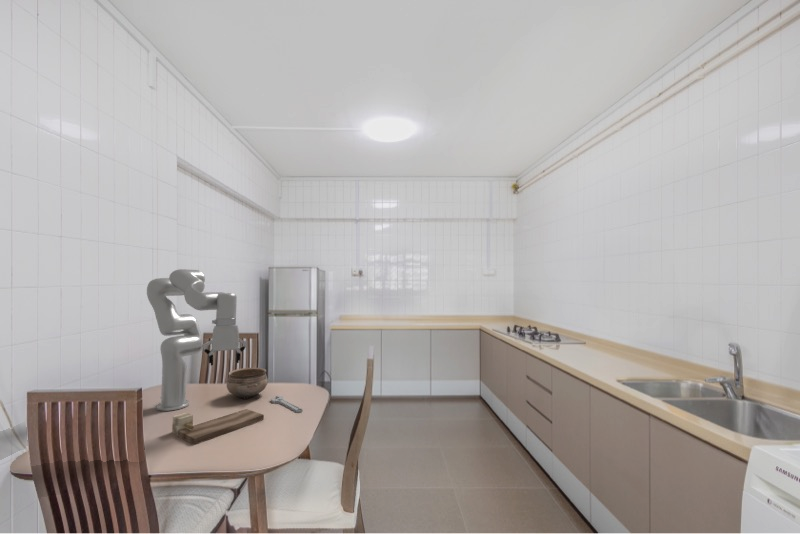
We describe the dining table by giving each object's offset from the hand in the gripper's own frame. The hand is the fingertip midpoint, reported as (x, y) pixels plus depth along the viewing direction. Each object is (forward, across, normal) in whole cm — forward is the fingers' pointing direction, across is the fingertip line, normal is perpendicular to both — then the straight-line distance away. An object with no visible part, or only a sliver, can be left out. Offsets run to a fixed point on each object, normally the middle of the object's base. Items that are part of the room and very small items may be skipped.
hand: (224, 363), depth 150 cm
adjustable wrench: (+24, +26, +5) cm, 36 cm away
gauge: (+23, -13, -8) cm, 28 cm away
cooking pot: (+23, +12, +28) cm, 38 cm away
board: (+23, 0, -9) cm, 25 cm away
